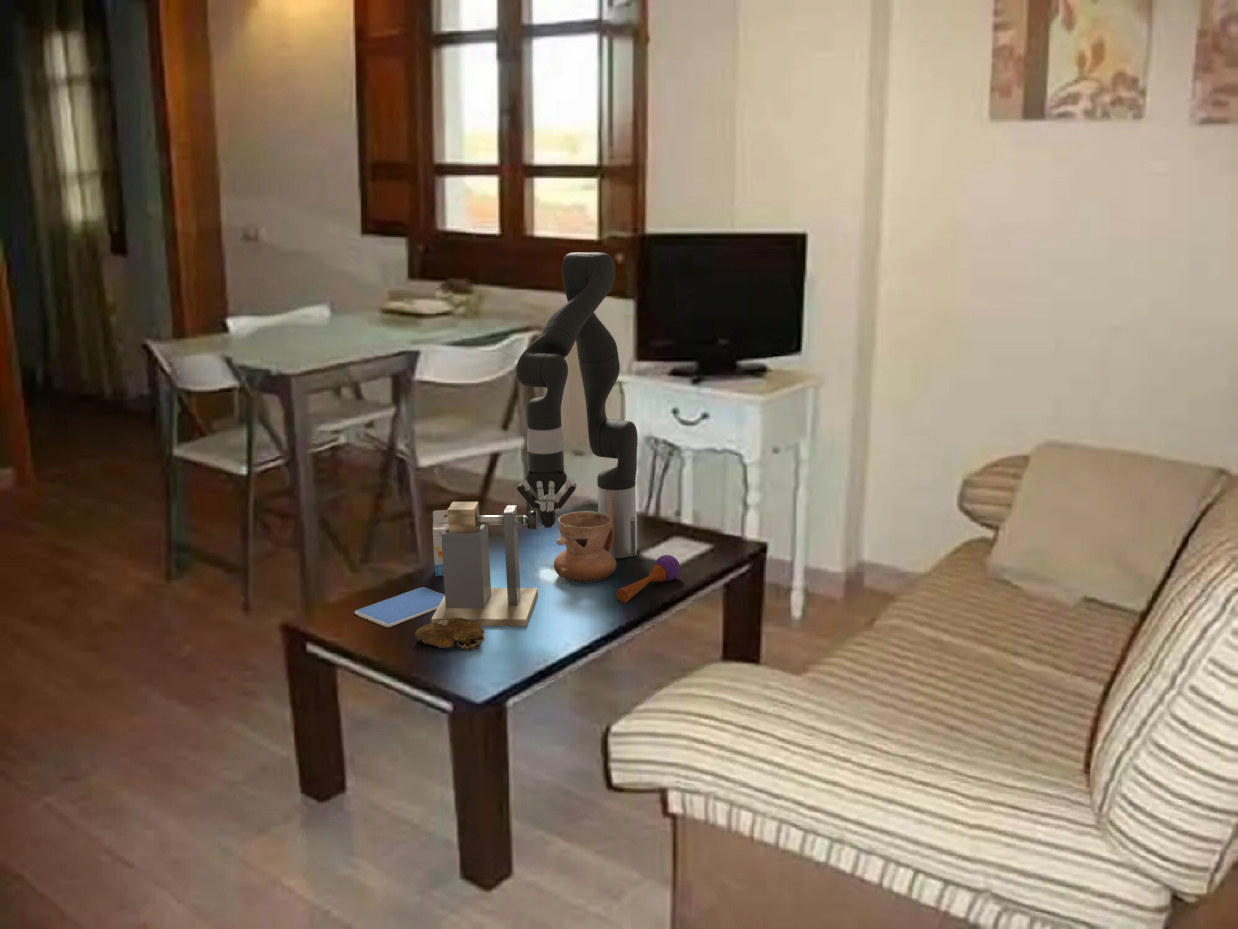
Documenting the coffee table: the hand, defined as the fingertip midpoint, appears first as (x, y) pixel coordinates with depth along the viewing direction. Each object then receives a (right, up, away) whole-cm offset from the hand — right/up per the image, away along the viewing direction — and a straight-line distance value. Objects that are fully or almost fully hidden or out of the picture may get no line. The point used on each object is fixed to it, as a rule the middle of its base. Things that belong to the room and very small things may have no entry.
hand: (548, 526), depth 253 cm
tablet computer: (-31, -19, +7) cm, 37 cm away
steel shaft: (-12, -1, +1) cm, 12 cm away
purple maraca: (+22, -15, +15) cm, 31 cm away
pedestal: (-18, -16, +6) cm, 25 cm away
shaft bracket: (-8, -16, +5) cm, 19 cm away
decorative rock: (-18, -23, -11) cm, 31 cm away
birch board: (-14, -18, +5) cm, 23 cm away
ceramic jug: (+8, -13, +24) cm, 28 cm away
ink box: (-24, -12, +28) cm, 39 cm away
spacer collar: (-18, -2, +2) cm, 18 cm away
